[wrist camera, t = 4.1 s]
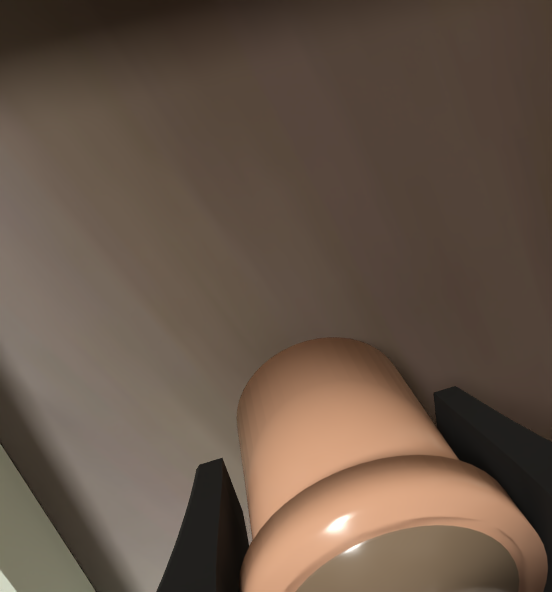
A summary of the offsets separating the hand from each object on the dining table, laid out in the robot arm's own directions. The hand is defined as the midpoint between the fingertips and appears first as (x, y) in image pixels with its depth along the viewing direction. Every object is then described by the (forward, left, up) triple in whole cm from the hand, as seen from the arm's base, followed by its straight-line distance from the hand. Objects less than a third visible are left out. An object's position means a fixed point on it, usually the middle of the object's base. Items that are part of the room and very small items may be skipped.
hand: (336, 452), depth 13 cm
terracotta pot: (0, 0, -2) cm, 2 cm away
